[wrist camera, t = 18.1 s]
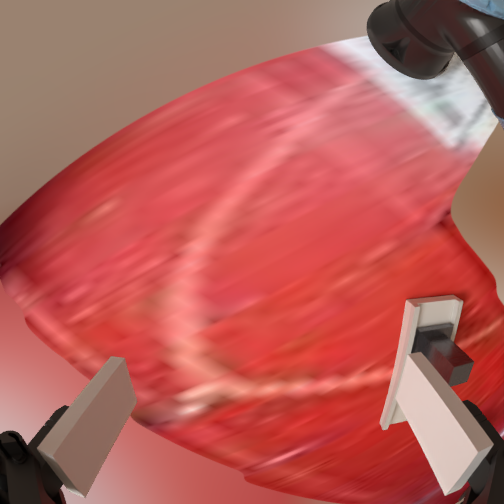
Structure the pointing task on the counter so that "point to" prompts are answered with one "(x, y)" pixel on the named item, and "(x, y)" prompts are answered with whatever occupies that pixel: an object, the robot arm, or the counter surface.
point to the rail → (414, 317)
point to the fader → (443, 353)
